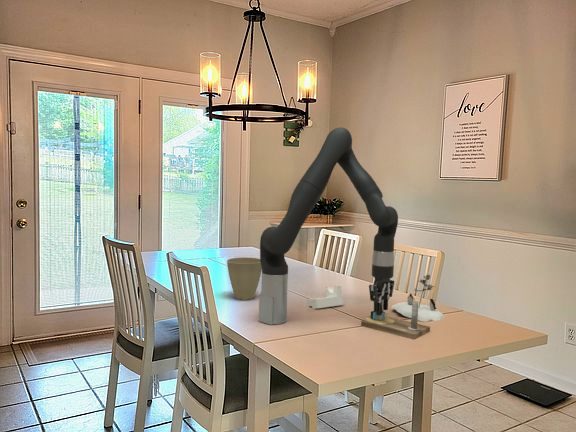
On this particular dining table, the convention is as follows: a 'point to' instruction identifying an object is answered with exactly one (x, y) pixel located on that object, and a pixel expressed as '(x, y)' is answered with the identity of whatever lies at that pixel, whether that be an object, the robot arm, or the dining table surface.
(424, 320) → the figurine
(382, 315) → the push button
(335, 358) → the dining table surface
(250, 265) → the plant pot
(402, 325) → the gauge board
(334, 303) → the bracket
